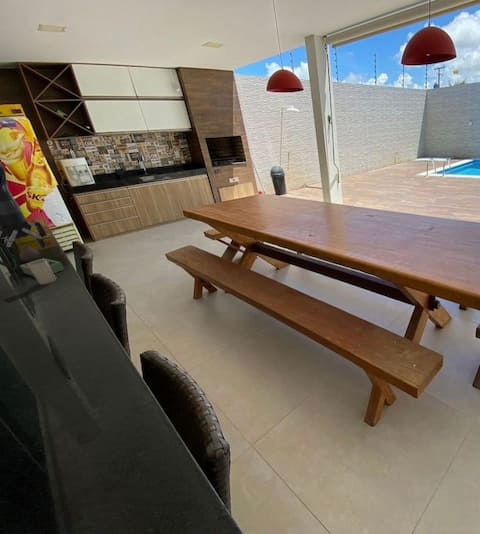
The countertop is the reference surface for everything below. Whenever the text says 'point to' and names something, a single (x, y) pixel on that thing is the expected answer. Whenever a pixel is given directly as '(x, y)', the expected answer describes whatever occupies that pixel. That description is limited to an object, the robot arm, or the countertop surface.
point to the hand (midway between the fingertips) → (29, 251)
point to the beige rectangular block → (42, 271)
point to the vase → (29, 254)
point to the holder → (53, 264)
